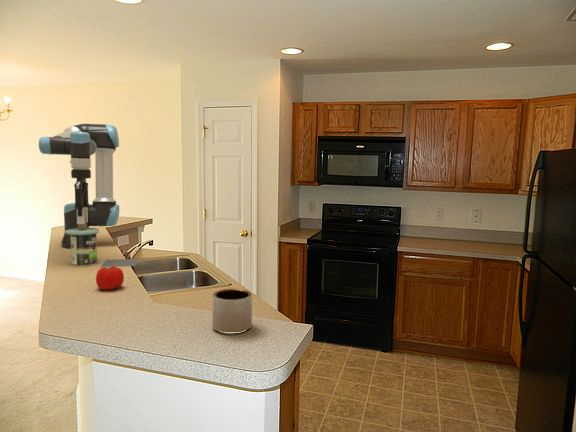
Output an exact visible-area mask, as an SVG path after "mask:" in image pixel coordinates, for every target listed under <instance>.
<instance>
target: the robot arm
mask: <svg viewBox="0 0 576 432" xmlns="http://www.w3.org/2000/svg"><path fill="white" fill-rule="evenodd" d="M119 139H120V138H119V134H118V130H117V128H116V126H115V125H112V124H106V123H105V124H103V123H102V124H101V123H80V124H76V125H73V126H69V127H67V128H66V129H64V131H63V132H61V133H58V134H56V135H54V136H41V137H40V138H39V140H38V149H39V152H40V153H41V154H43V155H49V156H50V155H58V156H59V155H61V156H63V155H64V156H65V155H66V156H70V160H69V163H70V164H71V165H70V168H71V170H70V173H71V175H70V177H71V178H72V179H76V182H75V183H74V185H73V186H74V202H72V203H71V202H70V203H67V204H65V205H64V207H63V217H64V218H63V220H64V222H63V223H64V224H63V225H64V233H63V236H62V239H61V243H60V244H61V246H62V248H63V249H71V235H68V234H66V232H65V231H66V230H68V229H73V228H78V224H85V223H84V209H86V218H87V228H90V227H114V226H116V225H117V224H118V221H119V217H120V205H119V204H117V201H116V200H115V199H114V161H113V159H114V158H113V157H114V155H113V154H114V153H115V152H116V151H117V148H119V147H120V140H119ZM93 155H95V156H94V157H95V158H94V159H95V160H94V161H95V163H94V165H95V166H94V167H95V168H94V169H95V172H94V173H95V198H94V199H93V200H92V204H90V203H89V183H88V182H87V179H91V178H92V170H91V167H92V165H91V164H92V162H91V156H93Z"/></svg>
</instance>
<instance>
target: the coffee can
mask: <svg viewBox="0 0 576 432" xmlns="http://www.w3.org/2000/svg"><path fill="white" fill-rule="evenodd" d="M97 234H98V233H96V234H90V235H71V248H70V254H71V255H70V257H71V265H72V266H76V267H85V266H92V265H96V264H98V254H97V253H98V249H97V248H98V247H97V246H98V245H97V242H98V241H97Z"/></svg>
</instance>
